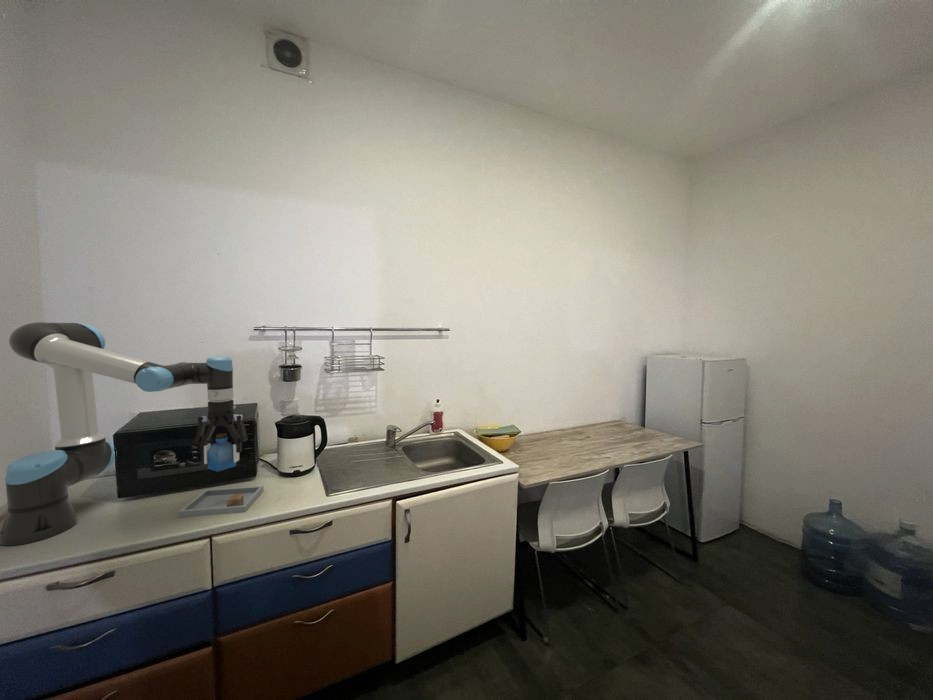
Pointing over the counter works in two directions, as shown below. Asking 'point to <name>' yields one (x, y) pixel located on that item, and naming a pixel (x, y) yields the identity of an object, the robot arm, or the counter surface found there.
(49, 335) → the robot arm
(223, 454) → the perfume bottle
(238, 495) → the walnut block
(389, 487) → the counter surface
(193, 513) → the tray
